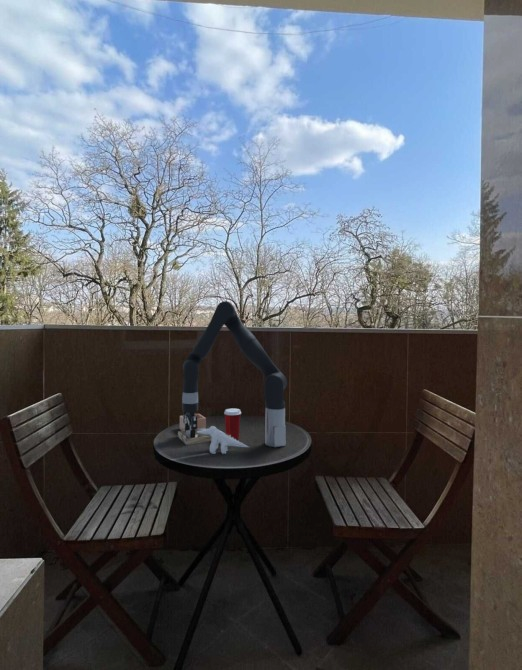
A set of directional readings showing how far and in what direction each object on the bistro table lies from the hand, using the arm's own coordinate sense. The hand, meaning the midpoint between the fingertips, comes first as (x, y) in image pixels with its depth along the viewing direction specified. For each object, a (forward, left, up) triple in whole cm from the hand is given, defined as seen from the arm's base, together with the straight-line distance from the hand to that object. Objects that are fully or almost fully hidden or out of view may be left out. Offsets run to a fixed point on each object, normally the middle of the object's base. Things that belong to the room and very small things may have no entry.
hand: (189, 435), depth 172 cm
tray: (0, -3, -3) cm, 4 cm away
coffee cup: (-9, -18, -3) cm, 21 cm away
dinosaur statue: (-21, -8, -3) cm, 23 cm away
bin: (+14, -6, -3) cm, 16 cm away
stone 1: (0, 0, -2) cm, 2 cm away
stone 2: (0, -6, -2) cm, 6 cm away
